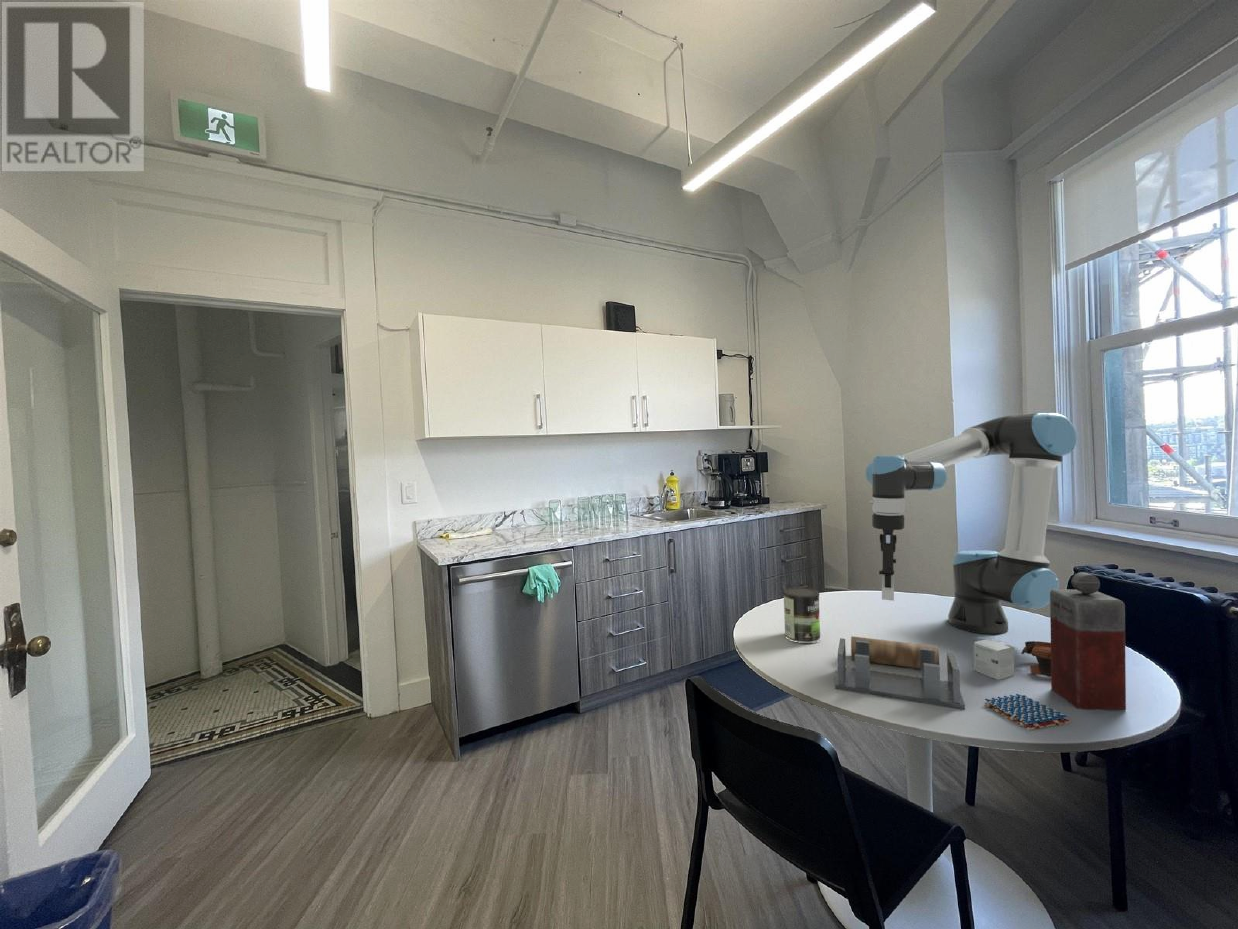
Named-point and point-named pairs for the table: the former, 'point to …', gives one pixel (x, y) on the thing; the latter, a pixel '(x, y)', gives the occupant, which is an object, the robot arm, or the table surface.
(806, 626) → the coffee can
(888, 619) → the table surface
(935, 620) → the table surface
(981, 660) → the skincare box
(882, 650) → the tan cylinder
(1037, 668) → the orange brown curved figurine
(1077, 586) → the red grey decanter
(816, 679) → the table surface
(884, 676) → the bracket
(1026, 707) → the woven mat
